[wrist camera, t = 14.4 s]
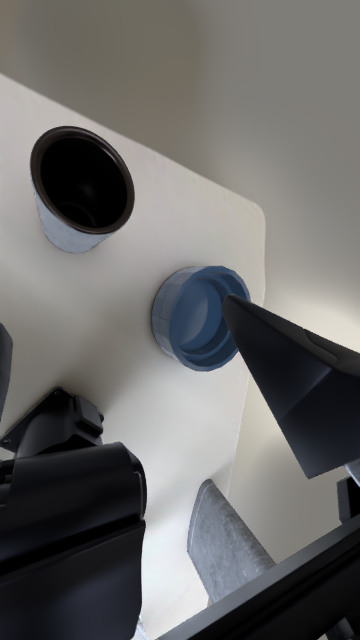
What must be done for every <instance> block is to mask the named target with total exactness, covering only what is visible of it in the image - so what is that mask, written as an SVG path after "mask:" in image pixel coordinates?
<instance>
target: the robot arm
mask: <svg viewBox="0 0 360 640" xmlns="http://www.w3.org/2000/svg"><path fill="white" fill-rule="evenodd" d="M222 314H223V317H224V319H225V322H226V324H227V327H228V329H229V331H230V334H231V336H232V339H233V341H234V343H235V344H236V346H237V348H238V350H239V352H240V354H241V356H242V357H243V359H244V361H245V363H246V365H247V367H248V369H249V371H250V372H251V374H252V376H253V378H254V380H255V382H256V384H257V385H258V387H259V389H260V391H261V393H262V395H263V397H264V399H265V400H266V402H267V404H268V406H269V408H270V410H271V411H272V413H273V415H274V417H275V419H276V421H277V423H278V425H279V427H280V428H281V430H282V432H283V434H284V436H285V438H286V440H287V442H288V444H289V445H290V447H291V449H292V451H293V453H294V455H295V457H296V459H297V460H298V462H299V464H300V466H301V468H302V470H303V471H304V473H305V475H306V477H307V478H308V479H311V478H313V477H316V476H318V475H321V474H323V473H325V472H328V471H330V470H333V469H335V468H338V467H340V466H342V465H343V466H344V467H345V468H346V470H347V471H348V472H349V474H350V476H348V477H346V478H344V479H342V480H340V481H338V482H337V493H338V506H339V507H338V508H339V519H340V521H341V522H342V525H340V526H339V527H337V528H335V529H334V530H332V531H331V532H329V533H328V534H326V535H324V536H322V537H321V538H319V539H318V540H316V541H314V542H313V543H311V544H309V545H308V546H306V547H305V548H303V549H301V550H300V551H298V552H297V553H295V554H293V555H292V556H290V557H288V558H287V559H285V560H284V561H282V562H280V563H279V564H277V565H275V566H274V567H272V568H271V569H269V570H267V571H266V572H264V573H262V574H261V575H259V576H258V577H256V578H254V579H253V580H251V581H249V582H248V583H246V584H245V585H243V586H241V587H240V588H238V589H236V590H235V591H233V592H232V593H230V594H228V595H227V596H225V597H224V598H222V599H220V600H219V601H217V602H215V603H214V604H212V605H211V606H209V607H207V608H206V609H204V610H202V611H201V612H199V613H198V614H196V615H194V616H193V617H191V618H189V619H188V620H186V621H185V622H183V623H181V624H180V625H178V626H176V627H175V628H173V629H172V630H170V631H168V632H167V633H165V634H164V635H162V636H160V637H159V638H157V639H155V640H317V639H319V638H320V637H321V636H322V635H324V634H326V636H327V638H328V640H360V353H358V352H355V351H353V350H350V349H348V348H346V347H344V346H341V345H339V344H336V343H334V342H332V341H330V340H328V339H325V338H323V337H321V336H319V335H317V334H315V333H313V332H310V331H309V330H306V329H303V328H302V327H300V326H298V325H296V324H294V323H292V322H290V321H288V320H286V319H284V318H282V317H280V316H278V315H276V314H274V313H271V312H269V311H268V310H265V309H264V308H262V307H259V306H257V305H255V304H253V303H251V302H249V301H247V300H245V299H243V298H241V297H239V296H237V295H235V294H232V295H227V296H226V297H225V300H224V303H223V306H222ZM12 348H13V341H12V338H11V336H10V335H9V333H8V332H7V330H6V329H5V327H4V326H3V324H1V323H0V421H1V417H2V412H3V408H4V404H5V399H6V395H7V391H8V386H9V381H10V372H11V360H12ZM56 391H60V393H59V394H55V392H56ZM103 420H104V417H103V415H102V414H101V413H100V412H98V411H97V408H96V406H94V405H93V404H91V403H90V402H88V401H87V400H85V399H84V398H82V397H81V396H80V395H75V396H74V395H72V394H71V393H69V392H68V391H66V390H65V389H63V388H62V387H55V388H53V389H52V390H51V391H50V392H49V393H48V394H47V395H46V396H45V397H44V398H43V399H42V400H41V401H40V402H38V403H37V404H36V405H35V406H34V407H33V408H32V409H31V410H30V411H29V412H28V413H27V414H26V415H25V416H24V417H22V418H21V419H20V420H19V421H18V422H17V423H16V424H15V425H14V426H13V427H12V428H11V429H10V430H9V431H8V432H7V433H5V434H4V435H3V436H2V437H1V439H0V447H2V448H4V449H7V450H9V451H11V452H14V457H13V459H12V460H6V461H2V460H0V640H131V639H132V638H133V637H134V635H135V632H136V628H137V624H138V620H139V616H140V612H141V607H142V586H141V558H142V545H143V538H144V533H145V528H146V523H145V520H144V519H143V517H144V514H145V510H146V503H147V486H146V478H145V473H144V470H143V466H142V464H141V462H140V461H139V459H138V458H137V457H136V456H135V455H134V454H132V453H131V452H130V451H129V450H128V449H127V448H126V447H125V446H124V445H123V444H122V443H121V442H114V443H111V444H105V445H103V443H102V440H101V436H100V435H101V434H102V433H103V427H102V422H103ZM4 440H9V441H8V442H4ZM142 519H143V520H142Z"/></svg>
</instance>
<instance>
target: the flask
mask: <svg viewBox="0 0 360 640" xmlns="http://www.w3.org/2000/svg"><path fill="white" fill-rule="evenodd" d="M187 552H188V554H189V556H190V558H191V560H192V562H193V564H194V566H195V568H196V570H197V572H198V574H199V577H200V579H201V581H202V583H203V585H204V587H205V589H206V591H207V593H208V595H209V597H210V599H211V601H212V603H213V604H214V603H215V602H217V601H219V600H220V599H222V598H224V597H225V596H227V595H228V594H230V593H232V592H233V591H235V590H236V589H238V588H240V587H241V586H243V585H245V584H246V583H248V582H249V581H251V580H253V579H254V578H256V577H258V576H259V575H261V574H262V573H264V572H266V571H267V570H269V569H271V568H272V567H274V566H275V565H276V563H275V562H274V561H273V560H272V558H271V557H270V555H269V554H268V553H267V552H266V550H265V549H264V548H263V546H262V545H261V544H260V542H259V541H258V540H257V539H256V537H255V536H254V535H253V533H252V532H251V531H250V530H249V528H248V527H247V526H246V524H245V523H244V522H243V520H242V519H241V518H240V517H239V515H238V514H237V513H236V511H235V510H234V509H233V507H232V506H231V505H230V504H229V502H228V501H227V500H226V498H225V497H224V496H223V494H222V493H221V492H220V491H219V489H218V488H217V487H216V485H215V484H214V483H213V481H212V480H210V479H208V480H206V481H205V482H204V483H203V484H202V485H201V487H200V489H199V492H198V495H197V498H196V501H195V505H194V508H193V512H192V516H191V521H190V526H189V533H188V542H187Z"/></svg>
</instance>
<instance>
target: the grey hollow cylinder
mask: <svg viewBox="0 0 360 640" xmlns="http://www.w3.org/2000/svg"><path fill="white" fill-rule="evenodd" d="M30 175H31V180H32V185H33V189H34V193H35V198H36V202H37V206H38V211H39V215H40V219H41V224H42V227H43V230H44V232H45V234H46V236H47V237H48V239H49V240H50V241H51V242H52V243H53V244H54V245H55V246H57V247H58V248H60V249H61V250H64V251H66V252H70V253H83V252H86V251H89V250H90V249H92V248H93V247H95V246H96V245H98V244H99V243H100V242H102V241H103V240H105V239H106V238H108V237H109V236H110V235H112V234H113V233H115V232H116V231H118V230H119V229H120V228H121V227H123V226H124V225H125V224H126V222H127V221H128V219H129V218H130V216H131V214H132V211H133V207H134V201H135V192H134V185H133V181H132V178H131V175H130V172H129V170H128V168H127V166H126V164H125V162H124V161H123V159H122V158H121V156H120V155H119V154H118V152H117V151H116V150H115V149H114V148H113V147H112V146H111V145H110V144H109V143H108V142H107V141H105V140H104V139H103V138H101V137H100V136H98V135H97V134H95V133H93V132H91V131H89V130H86V129H83V128H80V127H75V126H60V127H56V128H53V129H50V130H48V131H47V132H45V133H44V134H43V135H41V136H40V137H39V139H38V140H37V141H36V143H35V144H34V147H33V149H32V152H31V156H30Z"/></svg>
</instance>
